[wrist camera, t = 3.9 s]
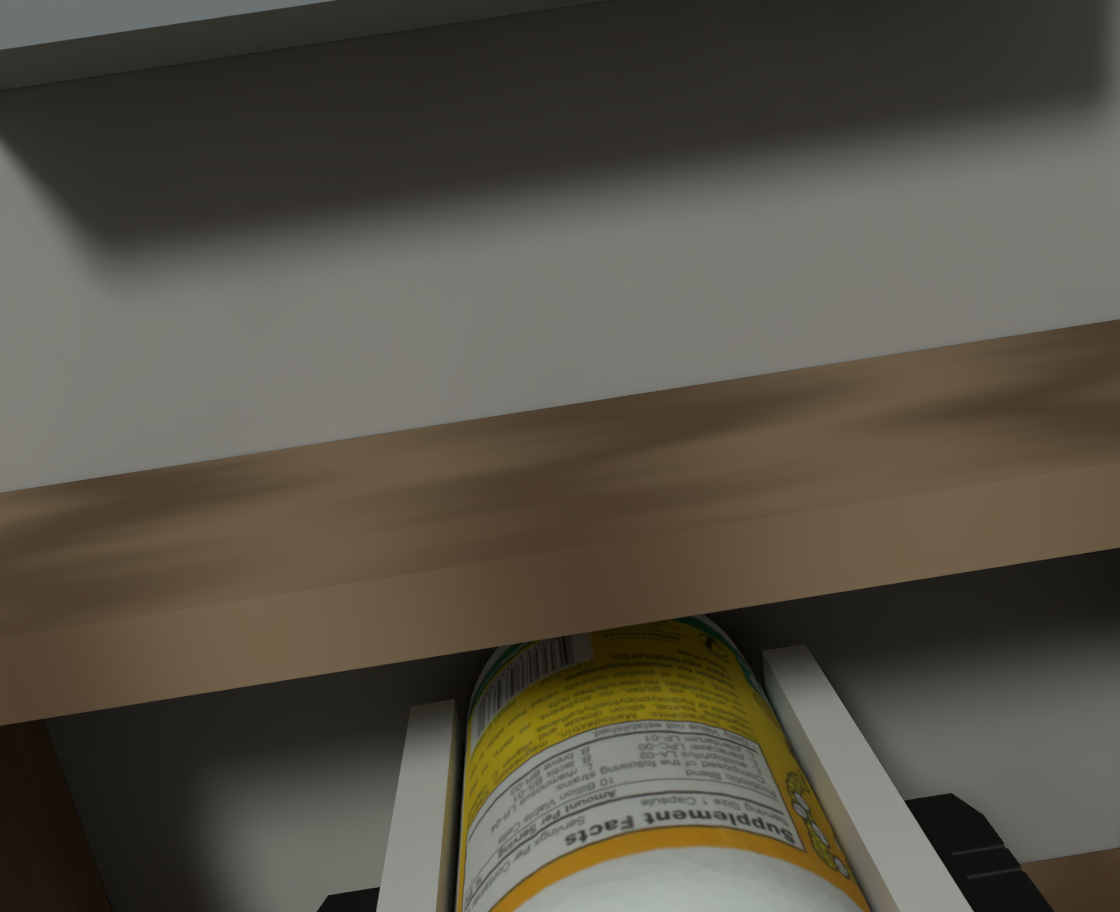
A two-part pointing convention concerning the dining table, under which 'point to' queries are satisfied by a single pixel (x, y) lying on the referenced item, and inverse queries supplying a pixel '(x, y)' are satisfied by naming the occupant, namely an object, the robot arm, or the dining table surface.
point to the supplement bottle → (638, 783)
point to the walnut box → (539, 544)
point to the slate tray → (203, 30)
